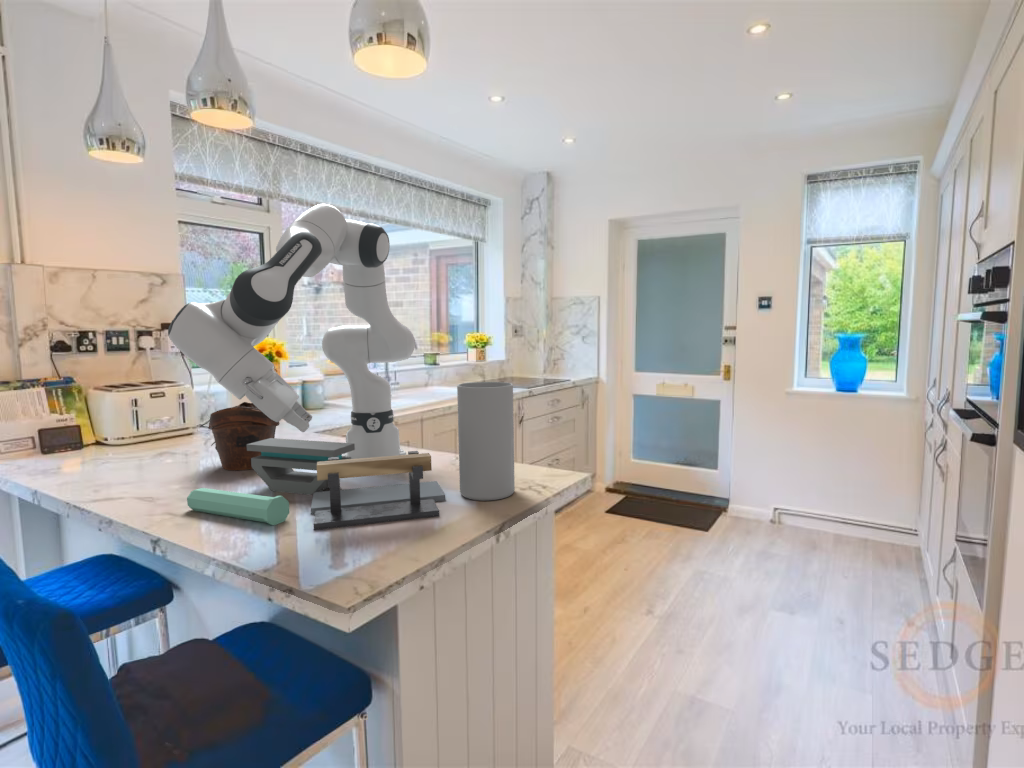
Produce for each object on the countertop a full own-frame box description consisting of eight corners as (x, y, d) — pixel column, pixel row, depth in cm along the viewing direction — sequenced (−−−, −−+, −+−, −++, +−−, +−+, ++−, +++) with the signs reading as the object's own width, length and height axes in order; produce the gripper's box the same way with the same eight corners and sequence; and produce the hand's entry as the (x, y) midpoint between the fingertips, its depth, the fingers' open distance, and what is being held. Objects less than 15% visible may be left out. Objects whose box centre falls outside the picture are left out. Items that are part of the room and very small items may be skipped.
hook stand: (315, 516, 115) (312, 458, 114) (433, 504, 122) (431, 449, 120) (313, 529, 107) (310, 468, 106) (439, 516, 114) (437, 457, 113)
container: (185, 483, 120) (270, 494, 109) (209, 486, 125) (292, 497, 114) (177, 511, 118) (262, 525, 108) (202, 513, 123) (286, 527, 113)
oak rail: (318, 476, 111) (317, 461, 111) (429, 467, 117) (429, 452, 117) (317, 480, 108) (316, 465, 108) (431, 470, 115) (431, 456, 114)
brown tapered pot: (261, 453, 174) (256, 396, 172) (294, 463, 161) (290, 401, 159) (199, 466, 160) (194, 403, 158) (230, 477, 147) (225, 410, 145)
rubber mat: (314, 497, 128) (313, 492, 128) (436, 485, 136) (436, 480, 136) (311, 514, 116) (310, 508, 116) (445, 500, 124) (445, 494, 124)
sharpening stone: (249, 488, 136) (246, 444, 135) (273, 480, 143) (270, 438, 142) (335, 497, 128) (333, 450, 127) (356, 488, 135) (354, 443, 134)
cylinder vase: (521, 487, 133) (519, 382, 130) (504, 503, 121) (502, 388, 119) (472, 484, 137) (469, 381, 134) (451, 499, 125) (448, 387, 122)
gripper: (253, 367, 95) (317, 421, 99) (269, 360, 115) (322, 405, 118) (226, 395, 94) (292, 448, 98) (246, 383, 114) (300, 428, 118)
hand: (308, 424), depth 108 cm, fingers open, 8 cm apart
